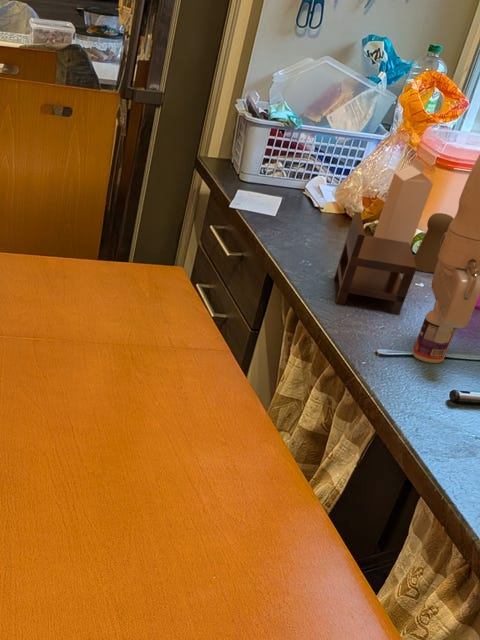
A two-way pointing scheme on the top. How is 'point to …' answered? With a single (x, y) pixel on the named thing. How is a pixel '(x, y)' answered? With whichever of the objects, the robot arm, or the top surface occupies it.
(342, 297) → the brown chair
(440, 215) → the brown pawn
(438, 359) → the pill bottle
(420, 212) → the milk
